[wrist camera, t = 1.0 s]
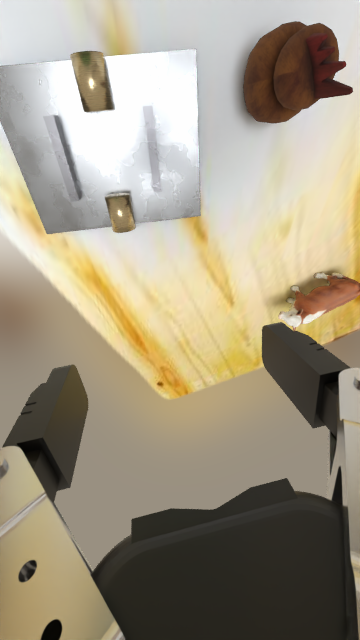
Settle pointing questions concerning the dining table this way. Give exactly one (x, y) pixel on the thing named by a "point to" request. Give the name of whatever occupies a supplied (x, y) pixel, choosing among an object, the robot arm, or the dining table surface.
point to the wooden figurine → (292, 71)
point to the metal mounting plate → (106, 137)
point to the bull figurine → (320, 299)
